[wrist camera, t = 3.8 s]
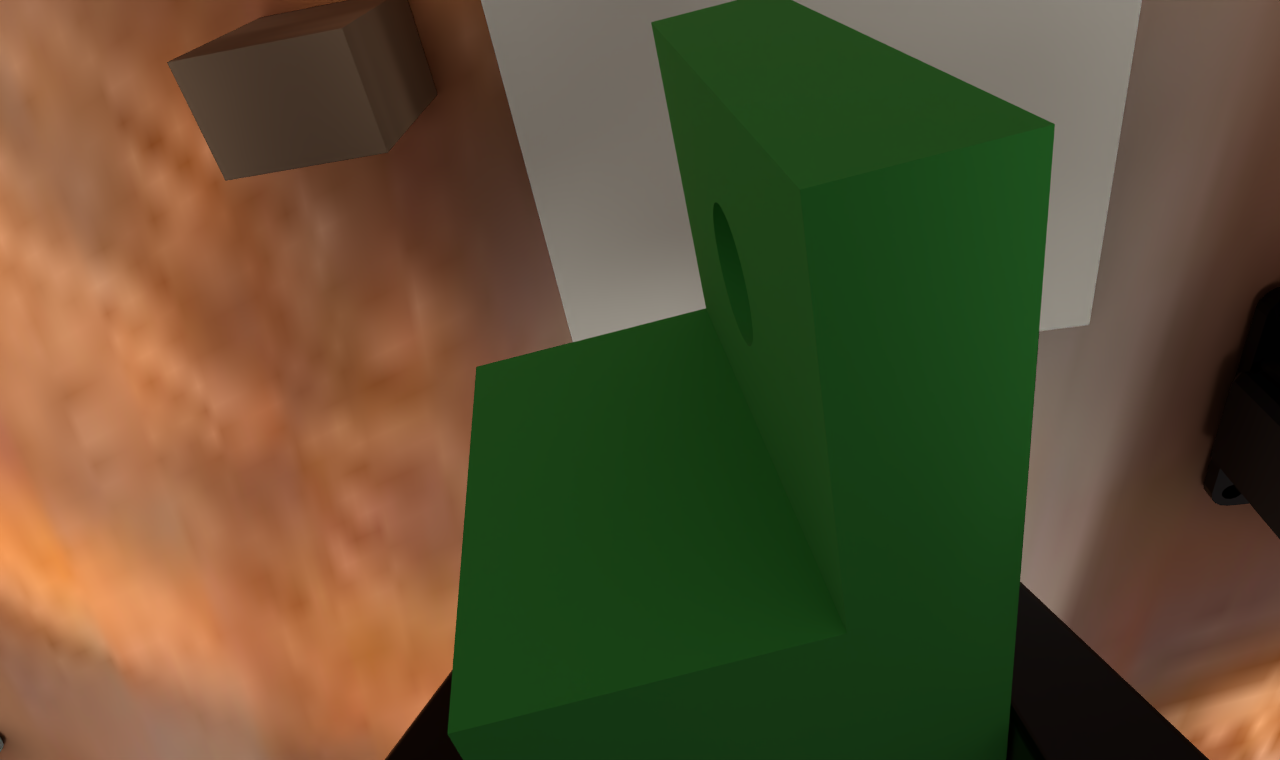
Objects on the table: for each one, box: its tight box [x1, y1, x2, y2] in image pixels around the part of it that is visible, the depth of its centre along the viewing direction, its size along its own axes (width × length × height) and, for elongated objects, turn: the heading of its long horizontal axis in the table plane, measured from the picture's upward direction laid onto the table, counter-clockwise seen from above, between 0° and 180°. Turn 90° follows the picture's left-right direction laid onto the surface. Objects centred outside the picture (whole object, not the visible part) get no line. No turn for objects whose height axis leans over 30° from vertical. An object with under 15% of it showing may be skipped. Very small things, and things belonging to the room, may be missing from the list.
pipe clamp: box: [448, 0, 1055, 760], centre depth 8 cm, size 11×4×5 cm, turn 12°
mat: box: [481, 0, 1142, 342], centre depth 16 cm, size 12×12×1 cm
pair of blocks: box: [167, 0, 437, 180], centre depth 19 cm, size 3×17×4 cm, turn 10°
